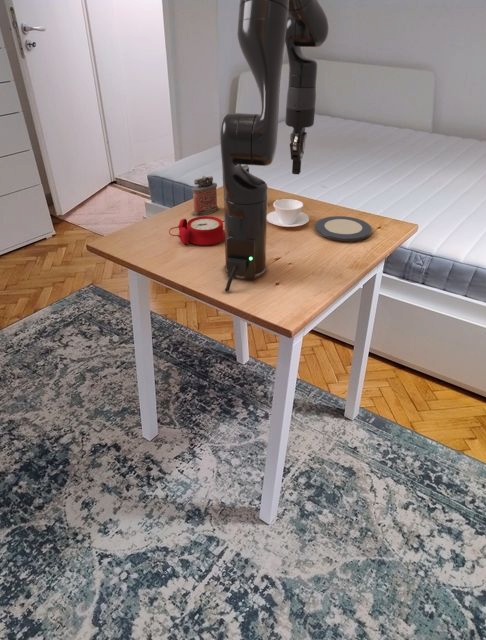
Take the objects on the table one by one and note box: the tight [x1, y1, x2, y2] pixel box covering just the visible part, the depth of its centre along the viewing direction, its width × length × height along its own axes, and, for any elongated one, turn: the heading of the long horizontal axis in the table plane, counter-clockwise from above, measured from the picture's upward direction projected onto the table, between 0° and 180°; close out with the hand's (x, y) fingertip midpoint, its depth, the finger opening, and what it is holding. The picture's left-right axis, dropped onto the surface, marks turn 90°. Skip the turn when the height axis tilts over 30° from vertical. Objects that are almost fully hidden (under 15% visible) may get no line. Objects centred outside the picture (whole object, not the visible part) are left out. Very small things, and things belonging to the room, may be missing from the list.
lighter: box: [191, 175, 219, 217], centre depth 138 cm, size 8×3×10 cm, turn 133°
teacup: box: [267, 198, 310, 228], centre depth 133 cm, size 12×12×5 cm
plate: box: [314, 215, 373, 242], centre depth 130 cm, size 15×15×1 cm
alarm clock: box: [168, 215, 225, 246], centre depth 125 cm, size 10×6×15 cm
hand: (296, 173), depth 136 cm, fingers closed
